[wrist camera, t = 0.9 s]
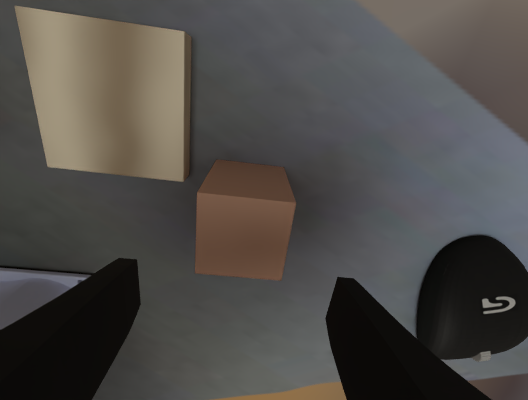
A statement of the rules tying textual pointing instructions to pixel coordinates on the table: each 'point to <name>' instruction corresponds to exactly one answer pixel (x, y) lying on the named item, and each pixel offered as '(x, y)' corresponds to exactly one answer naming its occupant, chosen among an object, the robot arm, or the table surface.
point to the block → (243, 220)
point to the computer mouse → (473, 301)
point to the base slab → (109, 93)
